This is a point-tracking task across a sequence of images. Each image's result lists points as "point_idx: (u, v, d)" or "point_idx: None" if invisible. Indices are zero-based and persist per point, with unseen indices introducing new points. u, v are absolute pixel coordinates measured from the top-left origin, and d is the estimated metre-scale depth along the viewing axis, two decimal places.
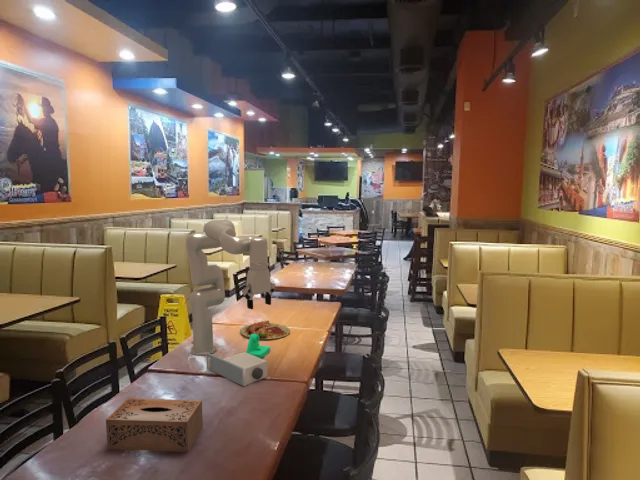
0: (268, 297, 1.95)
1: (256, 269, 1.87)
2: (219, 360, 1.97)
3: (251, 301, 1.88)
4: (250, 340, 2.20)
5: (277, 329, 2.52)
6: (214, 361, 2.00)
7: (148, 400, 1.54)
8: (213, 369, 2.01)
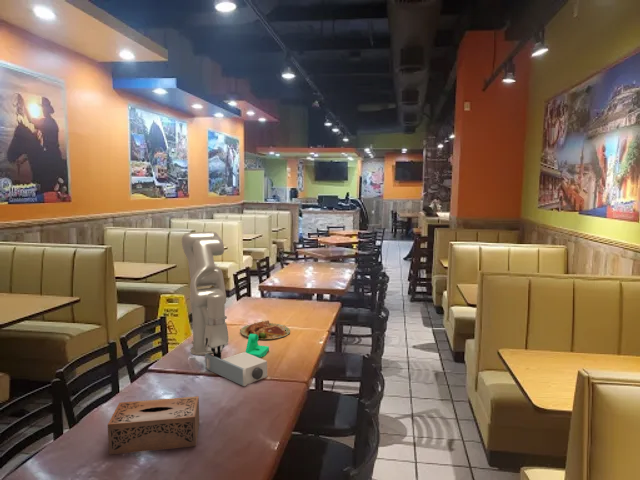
0: None
1: (213, 324, 1.98)
2: (218, 360, 1.97)
3: (217, 354, 2.02)
4: (249, 340, 2.20)
5: (277, 329, 2.52)
6: (214, 362, 1.99)
7: (143, 402, 1.52)
8: (212, 369, 2.01)
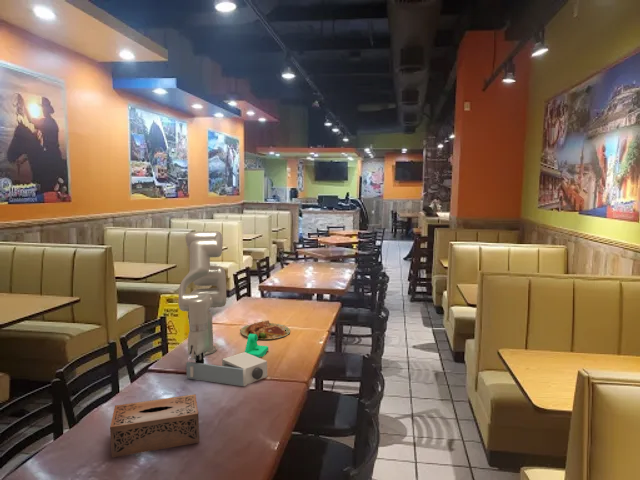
0: None
1: (199, 330, 1.90)
2: (207, 366, 1.91)
3: (201, 361, 1.94)
4: (248, 340, 2.20)
5: (277, 329, 2.52)
6: (200, 369, 1.92)
7: (140, 403, 1.51)
8: (197, 377, 1.93)
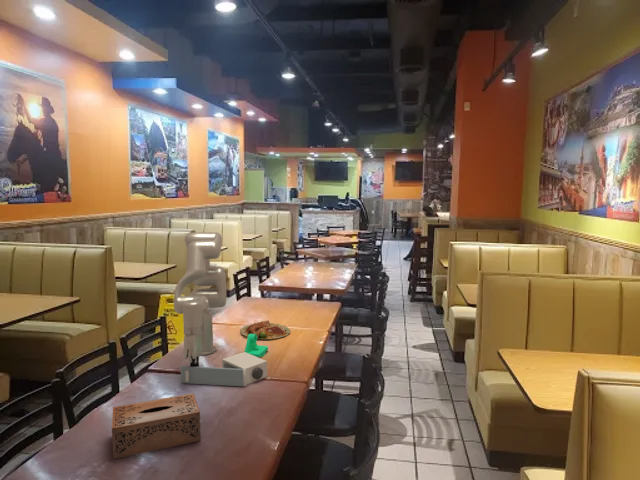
0: (196, 364, 1.91)
1: (195, 333, 1.86)
2: (204, 369, 1.87)
3: (196, 365, 1.90)
4: (248, 340, 2.20)
5: (277, 329, 2.52)
6: (196, 372, 1.88)
7: (138, 404, 1.51)
8: (193, 381, 1.89)
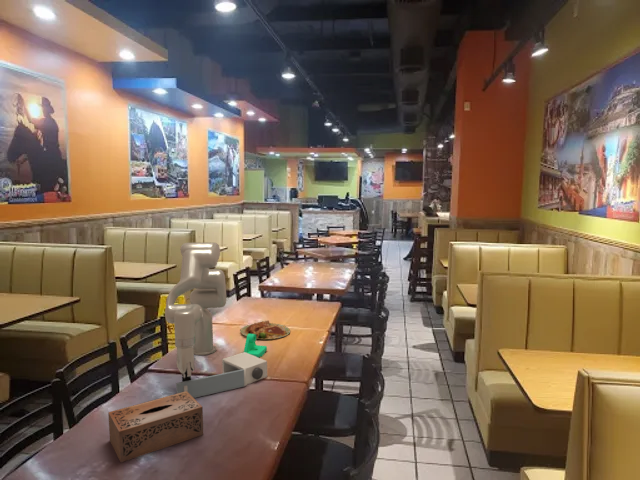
0: None
1: (192, 343, 1.74)
2: (203, 380, 1.77)
3: (190, 378, 1.77)
4: (247, 340, 2.20)
5: (277, 329, 2.52)
6: (194, 385, 1.76)
7: (134, 407, 1.49)
8: (191, 395, 1.75)
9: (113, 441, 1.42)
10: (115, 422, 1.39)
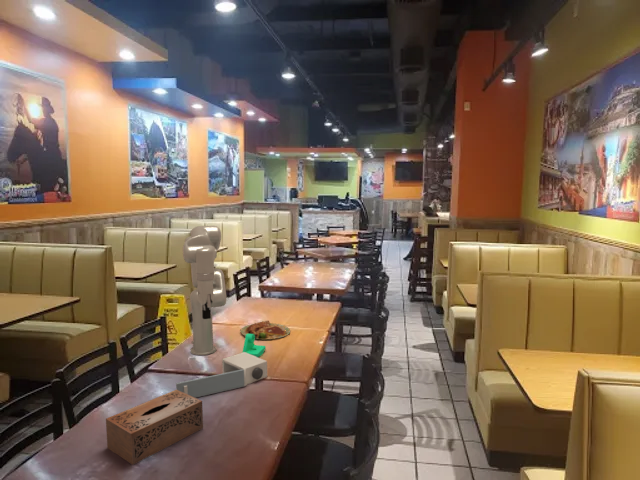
0: None
1: (212, 278, 1.93)
2: (203, 380, 1.77)
3: (209, 310, 1.96)
4: (246, 340, 2.20)
5: (277, 329, 2.52)
6: (194, 385, 1.76)
7: (131, 410, 1.47)
8: (191, 395, 1.75)
9: (116, 446, 1.39)
10: (120, 426, 1.37)
